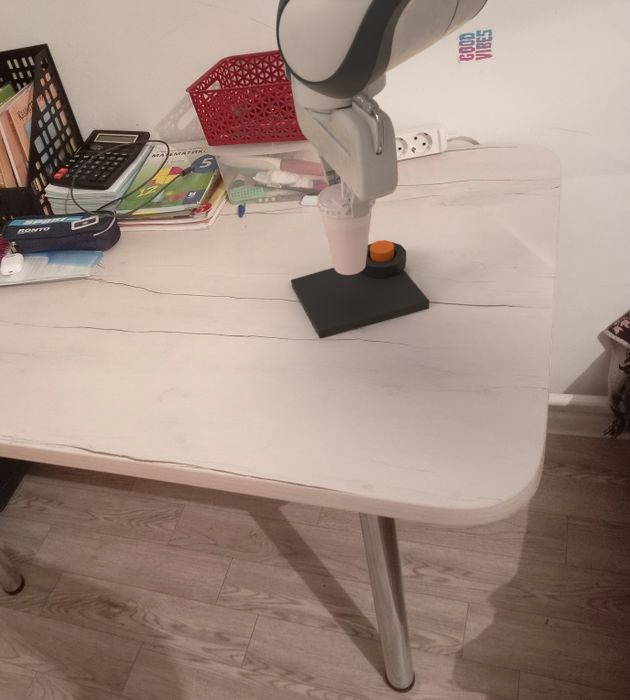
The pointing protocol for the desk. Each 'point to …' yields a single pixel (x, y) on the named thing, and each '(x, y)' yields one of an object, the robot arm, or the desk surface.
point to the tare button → (382, 251)
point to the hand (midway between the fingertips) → (345, 198)
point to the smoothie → (344, 229)
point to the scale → (359, 295)
